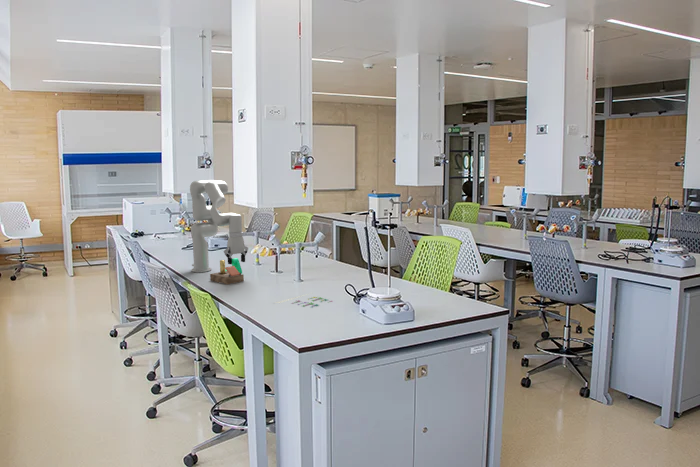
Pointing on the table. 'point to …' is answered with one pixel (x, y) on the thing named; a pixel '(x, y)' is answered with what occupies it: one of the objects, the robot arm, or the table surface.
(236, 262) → the camera mount
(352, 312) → the table surface
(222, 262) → the brass pin
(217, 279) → the hitch block
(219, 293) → the table surface
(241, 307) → the table surface
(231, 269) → the orange flat plate
